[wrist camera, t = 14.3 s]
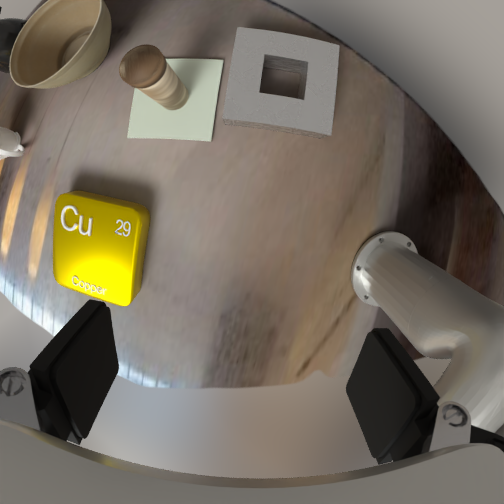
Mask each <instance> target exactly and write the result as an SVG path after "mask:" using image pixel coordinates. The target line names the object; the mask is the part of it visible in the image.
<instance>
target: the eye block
mask: <svg viewBox="0 0 504 504" xmlns="http://www.w3.org/2000/svg"><path fill="white" fill-rule="evenodd" d="M338 60H339V45H336V44H333V43H329V42H325V41H321V40H317V39H312V38H308V37H303V36H298V35H293V34H288V33H282V32H275V31H269V30H261V29H253V28H243V27H238V28H237V33H236V38H235V44H234V49H233V55H232V61H231V66H230V72H229V79H228V85H227V91H226V98H225V104H224V111H223V118H222V119H223V121H224V124H225V125H233V126H242V127H251V128H258V129H266V130H273V131H279V132H286V133H292V134H297V135H303V136H308V137H313V138H318V139H321V138H324V137H328V136H331V132H332V124H333V115H334V106H335V96H336V85H337V73H338ZM263 67H264V68H271V69H277V70H283V71H289V72H295V73H300V82H299V91H298V99H296V98H291V97H285V96H279V95H272V94H266V93H259V90H260V83H261V76H262V69H263Z"/></svg>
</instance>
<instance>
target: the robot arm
mask: <svg viewBox="0 0 504 504" xmlns="http://www.w3.org/2000/svg"><path fill="white" fill-rule="evenodd" d="M379 239H380V240H379ZM357 266H358V267H357ZM351 282H352V286H353V289H354V291H355V293H356V294H357V295H358V297H359V298H360V299H361V300H362V301H363V302H365V303H367V304H369V305H373V306H380V307H381V308H382V309H383V310H384V312H385V313H386V314H387V315H388V316H389V317H390V318H391V320H392V321H393V322H394V323H395V324H396V325H397V327H398V328H399V329H400V330H401V331H402V333H403V334H404V335H405V336H406V337H407V339H408V340H409V341H410V342H411V343H412V344H413V346H414V347H415V348H416V349H417V350H418V351H419V352H420V353H421V354H423V355H424V356H427V357H429V358H433V359H451V362H450V364H449V365H448V367H447V368H446V370H445V371H444V372H443V375H442V376H441V378H440V379H439V380H438V381H437V383H436V384H435V385H434V386H433V387H432V385H431V384H430V383H429V381H428V380H427V378H426V377H425V376H424V374H423V373H422V372H421V370H420V369H419V368H418V366H417V365H416V364H415V362H414V361H413V360H412V358H411V357H410V356H409V354H408V353H407V352H406V350H405V349H404V348H403V347H402V345H401V344H400V343H399V341H398V340H397V339H396V338H395V336H394V335H393V334H392V332H391V331H390V330H389V329H387V328H374V329H373V330H372V331H371V332H369V333H368V334H367V336H366V339H365V341H364V344H363V347H362V349H361V352H360V354H359V357H358V359H357V362H356V364H355V366H354V369H353V371H352V374H351V376H350V378H349V380H348V383H347V386H346V392H347V395H348V397H349V400H350V402H351V405H352V407H353V410H354V412H355V414H356V417H357V419H358V422H359V424H360V427H361V429H362V432H363V434H364V437H365V439H366V442H367V445H368V447H369V450H370V452H371V455H372V456H373V457H374V458H376V459H377V462H378V464H383V463H387V462H391V461H392V460H393V462H391V463H388V464H383V465H379V466H374V467H370V468H365V469H360V470H354V471H348V472H342V473H335V474H328V475H320V476H310V477H297V478H276V479H249V478H247V479H246V478H227V477H213V476H203V475H196V474H188V473H181V472H174V471H169V470H163V469H158V468H153V467H149V466H144V465H140V464H136V463H132V462H128V461H124V460H121V459H117V458H114V457H110V456H107V455H104V454H101V453H97V452H94V451H91V450H88V449H85V448H82V447H80V446H77V445H74V444H72V443H69V442H67V440H68V441H71V442H74V443H76V444H78V445H80V443H81V440H82V438H84V439H85V438H86V437H87V436H88V434H89V431H90V430H91V428H92V425H93V423H94V421H95V419H96V417H97V414H98V412H99V410H100V408H101V406H102V404H103V402H104V400H105V397H106V396H107V393H108V391H109V389H110V387H111V385H112V383H113V381H114V379H115V377H116V375H117V373H118V369H119V364H118V358H117V353H116V347H115V341H114V334H113V328H112V320H111V312H110V308H109V307H106V304H105V303H104V302H101V301H96V300H89V301H87V302H86V303H85V305H84V306H83V307H82V308H81V309H80V310H79V311H78V312H77V313H76V314H75V315H74V316H73V317H72V318H71V319H70V320H69V321H68V323H67V324H66V325H65V326H64V327H63V328H62V329H61V330H60V331H59V332H58V333H57V335H56V336H55V337H54V338H53V339H52V340H51V341H50V343H49V344H48V345H47V346H46V347H45V348H44V349H43V351H42V352H41V353H40V354H39V355H38V356H37V358H36V359H35V360H34V361H33V362H32V364H31V365H30V370H29V372H28V373H27V372H26V371H25V370H23V369H21V368H17V367H9V368H6V369H3V370H2V371H0V504H504V306H502V305H500V304H498V303H496V302H494V301H492V300H490V299H488V298H486V297H485V296H483V295H481V294H480V293H478V292H477V291H475V290H473V289H472V288H470V287H469V286H467V285H466V284H464V283H463V282H461V281H460V280H458V279H456V278H455V277H453V276H452V275H450V274H449V273H447V272H446V271H444V270H443V269H441V268H439V267H438V266H436V265H435V264H433V263H431V262H430V261H428V260H427V259H425V258H423V257H422V256H420V255H418V252H417V249H416V247H415V245H414V243H413V242H412V241H411V240H410V239H409V238H408V237H407V236H405V235H403V234H401V233H399V232H394V231H385V232H382V233H379V234H377V235H375V236H373V237H371V238H370V239H369V240H367V241H366V242H365V243H364V244H363V246H362V247H361V248H360V250H359V251H358V252H357V254H356V256H355V259H354V261H353V265H352V269H351Z"/></svg>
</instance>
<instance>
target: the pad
mask: <svg viewBox="0 0 504 504" xmlns="http://www.w3.org/2000/svg"><path fill="white" fill-rule="evenodd" d="M166 61H167V63H168V64H169V65H170V67H171V68H172V69H173V71H174V72H175V73H176V75H177V76H178V77H179V79H180V80H181V81H182V83H183V84H184V86H185V87H186V88H187V90H188V93H189V97H188V101H187V102H186V104H185V105H184V106H183V107H182V108H180V109H177V110H168V109H166V108H164V107H163V106H161V105H160V104H159V103H157V102H156V101H154V100H153V99H152V98H150V97H149V96H147V95H146V94H144V93H143V92H141V91H140V90H138V89H137V88H135V91H134V96H133V102H132V108H131V115H130V122H129V129H128V137H127V138H159V139H182V140H198V141H212V134H213V126H214V119H215V112H216V105H217V99H218V92H219V86H220V80H221V74H222V68H223V62H224V61H223V60H214V59H166Z"/></svg>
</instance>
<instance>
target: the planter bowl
mask: <svg viewBox="0 0 504 504" xmlns="http://www.w3.org/2000/svg"><path fill="white" fill-rule="evenodd" d="M110 36H111V17H110V13H109V10H108V8H107V6H106V4H105V2H104V1H103V0H48V1H47V2H46V3H44V4H43V5H42V6H41V7H40V8H39V9H38V10H37V11H36V12H35V13H34V14H33V15H32V16H31V17H30V19H29V20H28V21H27V22H26V24H25V25H24V27H23V28H22V30H21V31H20V33H19V35H18V37H17V39H16V41H15V43H14V46H13V49H12V52H11V56H10V66H9V67H10V74H11V77H12V79H13V81H14V82H15V83H16V84H17V85H19V86H21V87H26V88H54V87H59V86H63V85H66V84H69V83H71V82H73V81H75V80H77V79H81V78H83V77H86V76H87V75H89V74H91V73H92V72H93V71H94V70H95V69H97V68H98V66H99V65H100V64H101V63H102V62H103V60H104V59H105V57H106V55H107V53H108V50H109V45H110Z"/></svg>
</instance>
